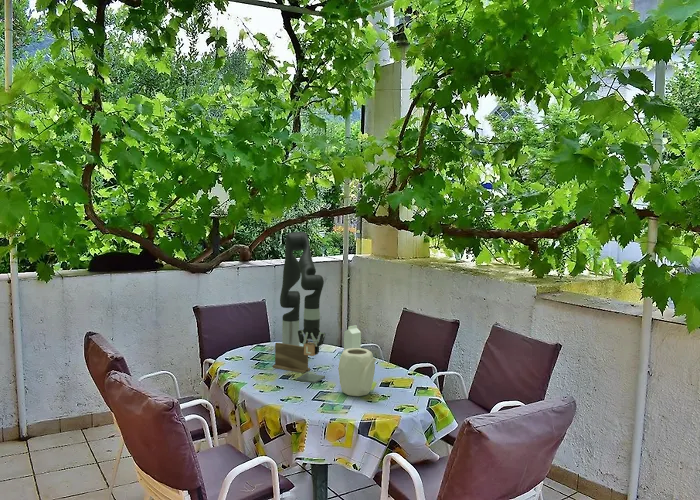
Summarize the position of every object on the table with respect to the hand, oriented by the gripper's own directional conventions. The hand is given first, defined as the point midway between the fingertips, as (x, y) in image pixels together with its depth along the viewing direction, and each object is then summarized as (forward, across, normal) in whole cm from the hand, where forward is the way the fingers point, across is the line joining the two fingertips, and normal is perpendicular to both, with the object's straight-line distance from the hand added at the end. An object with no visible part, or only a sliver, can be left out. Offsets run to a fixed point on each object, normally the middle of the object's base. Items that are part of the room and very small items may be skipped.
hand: (311, 353), depth 278 cm
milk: (+13, -10, -24) cm, 29 cm away
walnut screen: (+12, +16, -9) cm, 22 cm away
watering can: (+13, -28, +8) cm, 32 cm away
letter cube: (0, 0, 0) cm, 0 cm away
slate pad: (+12, 0, 0) cm, 12 cm away
